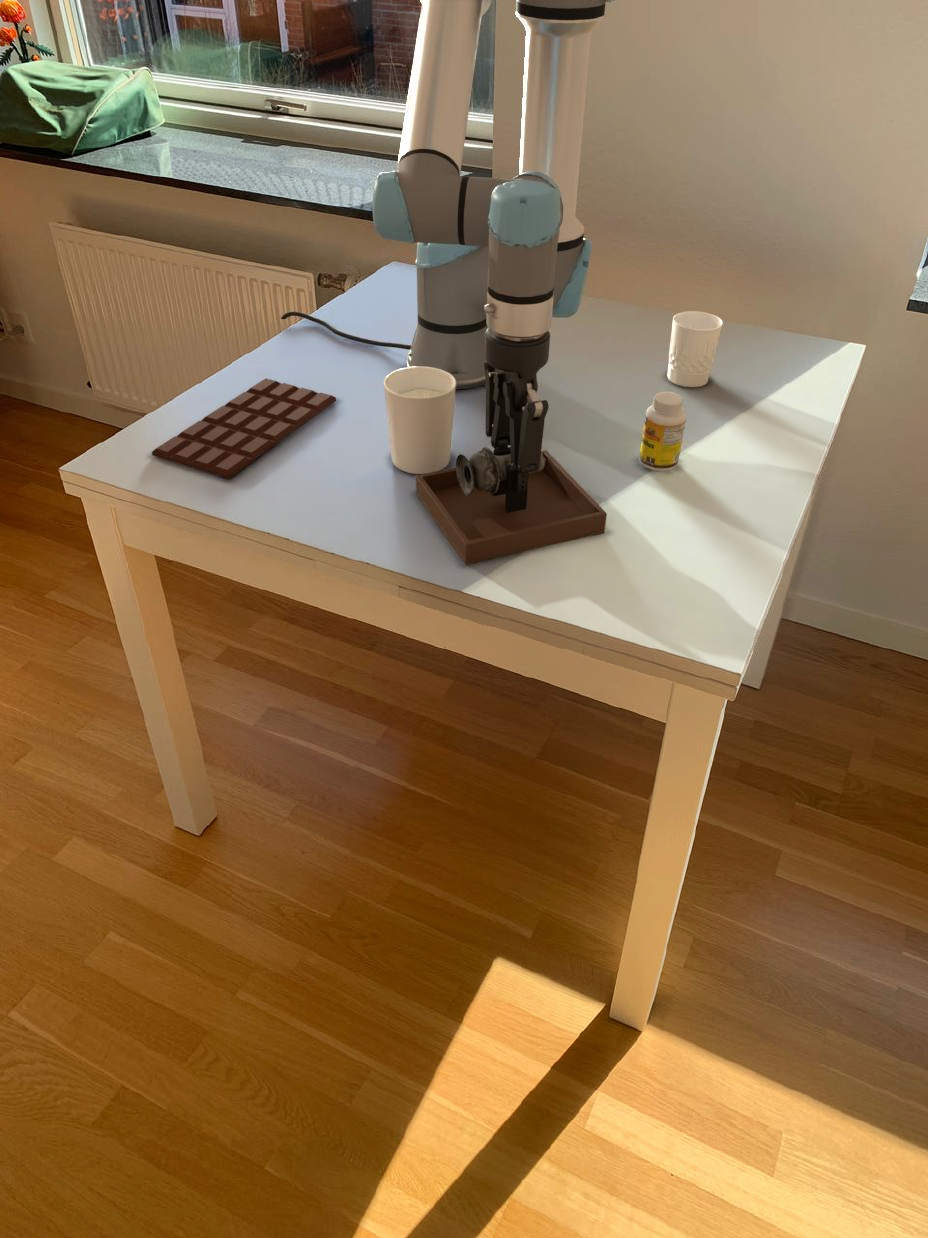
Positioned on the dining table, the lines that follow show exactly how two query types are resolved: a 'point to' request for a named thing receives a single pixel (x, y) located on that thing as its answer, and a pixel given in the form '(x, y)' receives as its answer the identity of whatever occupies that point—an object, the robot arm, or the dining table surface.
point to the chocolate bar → (244, 428)
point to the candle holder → (420, 418)
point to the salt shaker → (485, 470)
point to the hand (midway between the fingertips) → (508, 500)
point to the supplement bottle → (663, 432)
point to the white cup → (693, 347)
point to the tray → (492, 531)
